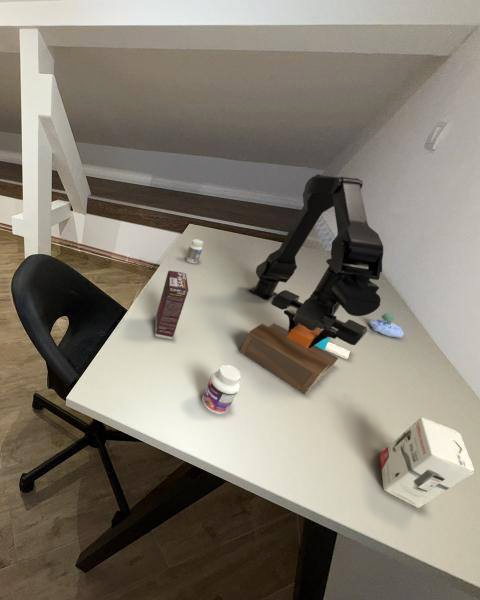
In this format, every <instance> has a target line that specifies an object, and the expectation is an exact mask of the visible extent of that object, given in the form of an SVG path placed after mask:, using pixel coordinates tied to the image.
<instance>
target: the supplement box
mask: <svg viewBox="0 0 480 600" xmlns="http://www.w3.org/2000/svg"><path fill="white" fill-rule="evenodd" d="M188 293H189V284H188V278H187V273H185V272H182V271H181V272H180V271H174V270H168V271H167V275H166V277H165V281H164V285H163V289H162V293H161V295H160V296H161V297H160V300H159V304H158V308H157V312H156V315H155V321H154V323H155V329H154V336H155V337H158V338H163V339H167V340H173V338H174V336H175V333H176V330H177V327H178V323H179V320H180V317H181V314H182V311H183V308H184V305H185V302H186V299H187V296H188Z"/></svg>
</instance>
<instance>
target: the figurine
mask: <svg viewBox="0 0 480 600" xmlns="http://www.w3.org/2000/svg"><path fill="white" fill-rule="evenodd" d="M395 319H396V317H395V315H394V314H393V313H391V312H386V313H383V314H382V315H381V318H377V319H370V320H369V325H370V327H372V330H373V331H374V332H377V333H380V334H381V335H384V336H386V337H391V338H398V339H400V338H401V339H402V338H403V336H404V334H405V333H404V331H403V329H402V327H401V326H398V325H397V324H396V323H394V322H393V321H394V320H395Z"/></svg>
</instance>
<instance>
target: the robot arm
mask: <svg viewBox="0 0 480 600" xmlns="http://www.w3.org/2000/svg"><path fill="white" fill-rule="evenodd" d="M362 188H363V180H361V179H360V178H356V177H350V176H349V177H348V176H338V175H337V176H335V175H327V174H319V173H318V174H315V175H314V176H311V178H309V179H308V180H307V182H306V183H305V186H304V190H303V192H302V202H303V206H302V208H301V210H300V212H299V213H298V214H297V216H296V219H295V220H294V221H293V224H292V225H291V227H290V229H289V230H288V233H287V234H286V235H285V238H284V240H283V241H282V243H281V245H280V247H279V248H278V249H277V250H275V251H274V252H271V253H270V254H268V256H267V258H266V259H265V260H264V261H263V262H261V263H260V264H258V265H257V266H256V269H255V274H256V276H257V278H258V280H257V282H256V284H255V286H254V287H252V288H250V289H249V292H251V293H253V294H255V295H256V296H258V297H261V298H263V299H264V300H266V301H267V300H268V301H269V300H270V299H271V301H270V305H272V306H274V307H276V308H278V309H280V310H282V311H283V310H284V311H283V314H284V315H286V316H287V318H288V331H289V333H290V331H291V329H293V328H294V327H296V326H297V325H298V324H301V325H303V326H304V327H306V328H307V329H309V330H316V329H317V328H320V329H323V330H322V331H321V332H320V334H319V335H318V336H317V337H316V338H315V339H314V340H313V341H312V342H311V344H310V345H309V347H308V348H311V347H313V346H314V345H315V344H317V343H318V342H320V341H321V340H323V339H326V338H328V337H330V338H331V339H333V340H334V339H335V340H336V339H339V340H341V341H343V342H345V343H346V344H349V345H351V346H356V345H357V344H358V343H359V342H360V341H361V340H362V339H363V338H364V336H365V335H366V334H367V332H368V328H367V326H365V325H363V324H361V323H359V322H356V321H354V320H352V319H347V321H343V320H341V319H339V318H338V317H337V316H336V315H335V314H336V313H337V311H338V309H339V308H340V307H341V308H342V309H343V310H344V311H345V312H346V313H347V314H348V315H351V316H353V317H363V316H367V315H370V314H372V313H374V312H375V311H377V310H378V309H379V307H380V306H381V301H382V300H381V297H380V295H379V293H377V292H378V290H379V289H380V287H379V285H377V284H376V283H374V282H372V281H371V280H373V281H374V280H375V281H378V280H380V277H381V273H382V272H383V257H384V244H383V242H382V240H381V237H380V235H379V233H378V232H376V231H375V230H374V229H372V227H370V226H369V223H368V219H367V213H366V209H365V204H364V199H363V194H362ZM331 208H333V209H334V217H335V223H336V229H337V232H336V233H337V235H336V236H335V238H334V239H333V240H332V241H331V249H330V257H331V258H328V259H326V261H325V263H326V264H327V265H328V267H327V269H326V270H325V272H324V274H323V275H322V277H321V278H320V280H319V282H318V283H317V285H316V286H315V288H314V289H313V292H312V294H310V295H309V297H308V298H307V299H305V300H304V302H300V301H299V300H300V295H298V294H295V293H293V292H292V291H289V290H287V289H285V290H282V291H280V292H278V293H277V292H276V289H277V287H278V285H279V283H284V284H285V283H288V282H289V280H290V279H291V278H292V277H293V275H294V274H295V271H296V270H297V269H298V265H297V261H296V257H297V255H298V253H299V252H300V249H301V248H302V246H303V245H304V244H305V242H306V240H307V239H308V237H309V236H310V234H311V232H312V231H313V229H314V227H315V226H316V224H317V223H318V221H319V219H320V217H321V216H322V214H323V213H325V212H326V211H328V210H330V209H331Z"/></svg>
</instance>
